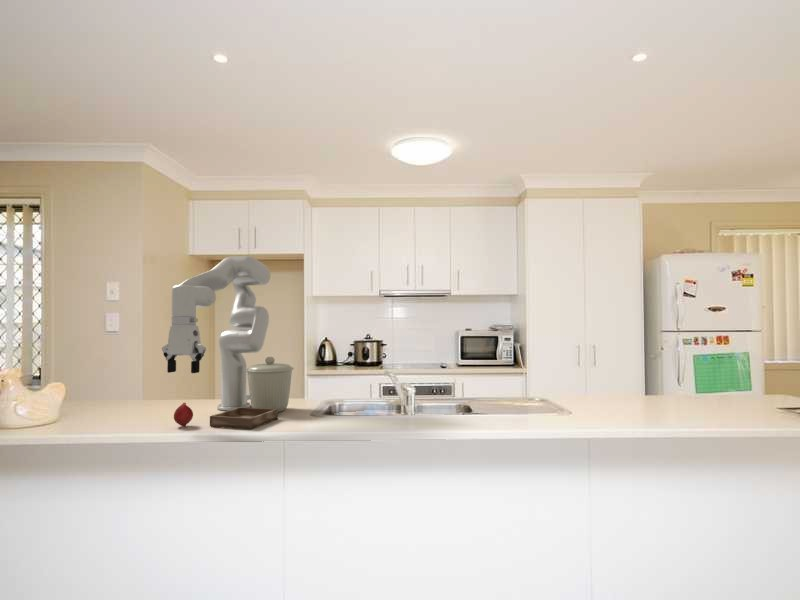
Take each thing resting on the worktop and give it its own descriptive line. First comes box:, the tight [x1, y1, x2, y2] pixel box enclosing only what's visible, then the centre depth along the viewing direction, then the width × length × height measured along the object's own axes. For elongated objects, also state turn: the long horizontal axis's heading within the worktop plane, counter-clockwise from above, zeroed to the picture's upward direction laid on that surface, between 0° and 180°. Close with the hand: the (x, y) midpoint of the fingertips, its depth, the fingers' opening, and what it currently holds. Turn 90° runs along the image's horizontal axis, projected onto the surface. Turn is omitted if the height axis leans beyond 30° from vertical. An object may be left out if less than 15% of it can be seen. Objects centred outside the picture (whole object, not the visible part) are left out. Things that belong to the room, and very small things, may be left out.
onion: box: [173, 402, 194, 427], centre depth 154 cm, size 6×6×8 cm
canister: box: [246, 356, 295, 413], centre depth 179 cm, size 18×18×21 cm
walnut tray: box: [209, 407, 279, 430], centre depth 159 cm, size 16×16×4 cm
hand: (183, 372), depth 155 cm, fingers open, 9 cm apart
